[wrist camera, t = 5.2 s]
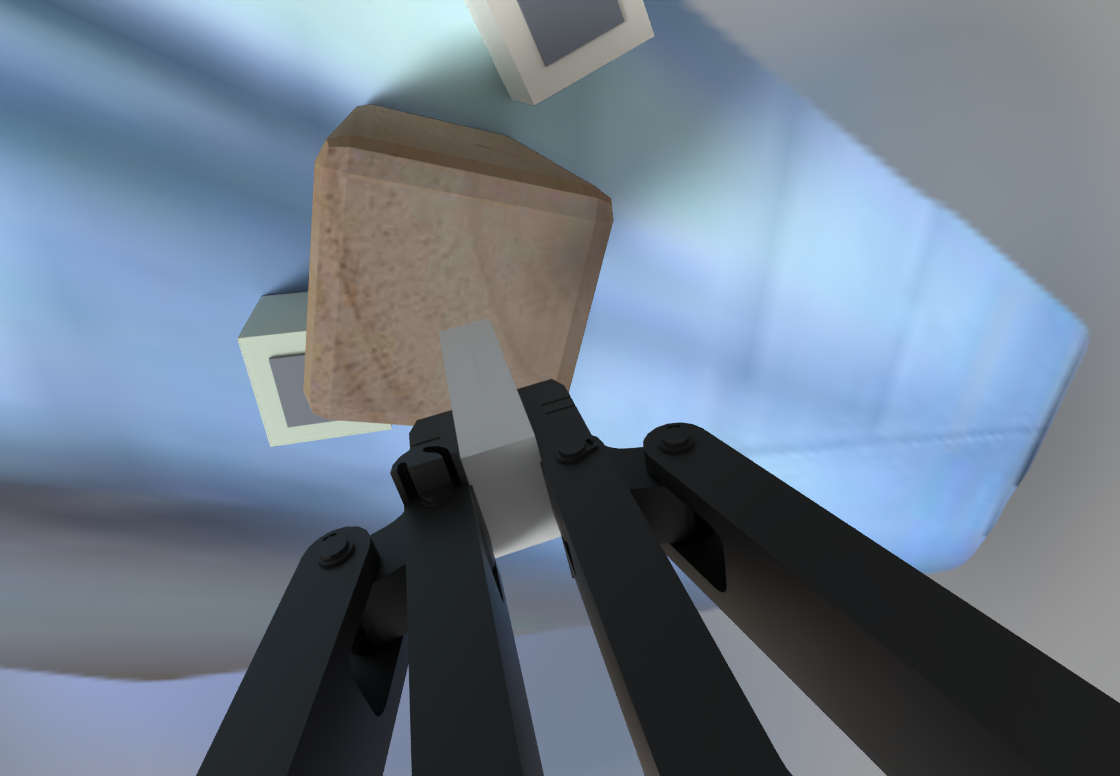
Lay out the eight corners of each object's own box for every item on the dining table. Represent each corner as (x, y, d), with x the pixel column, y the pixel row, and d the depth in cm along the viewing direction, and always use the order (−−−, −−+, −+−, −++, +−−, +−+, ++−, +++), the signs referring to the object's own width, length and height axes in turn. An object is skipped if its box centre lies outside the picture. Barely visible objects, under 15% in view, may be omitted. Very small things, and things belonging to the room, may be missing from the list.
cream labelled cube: (450, -28, 33) (464, -51, 26) (561, -93, 32) (602, -131, 26) (510, 99, 36) (535, 105, 30) (611, 41, 36) (656, 35, 30)
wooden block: (520, 137, 37) (630, 196, 20) (492, 289, 41) (564, 445, 24) (352, 99, 34) (312, 129, 17) (340, 267, 38) (298, 429, 21)
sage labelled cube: (261, 295, 38) (236, 340, 32) (375, 284, 39) (372, 325, 33) (288, 391, 41) (269, 449, 35) (391, 378, 43) (391, 431, 36)
